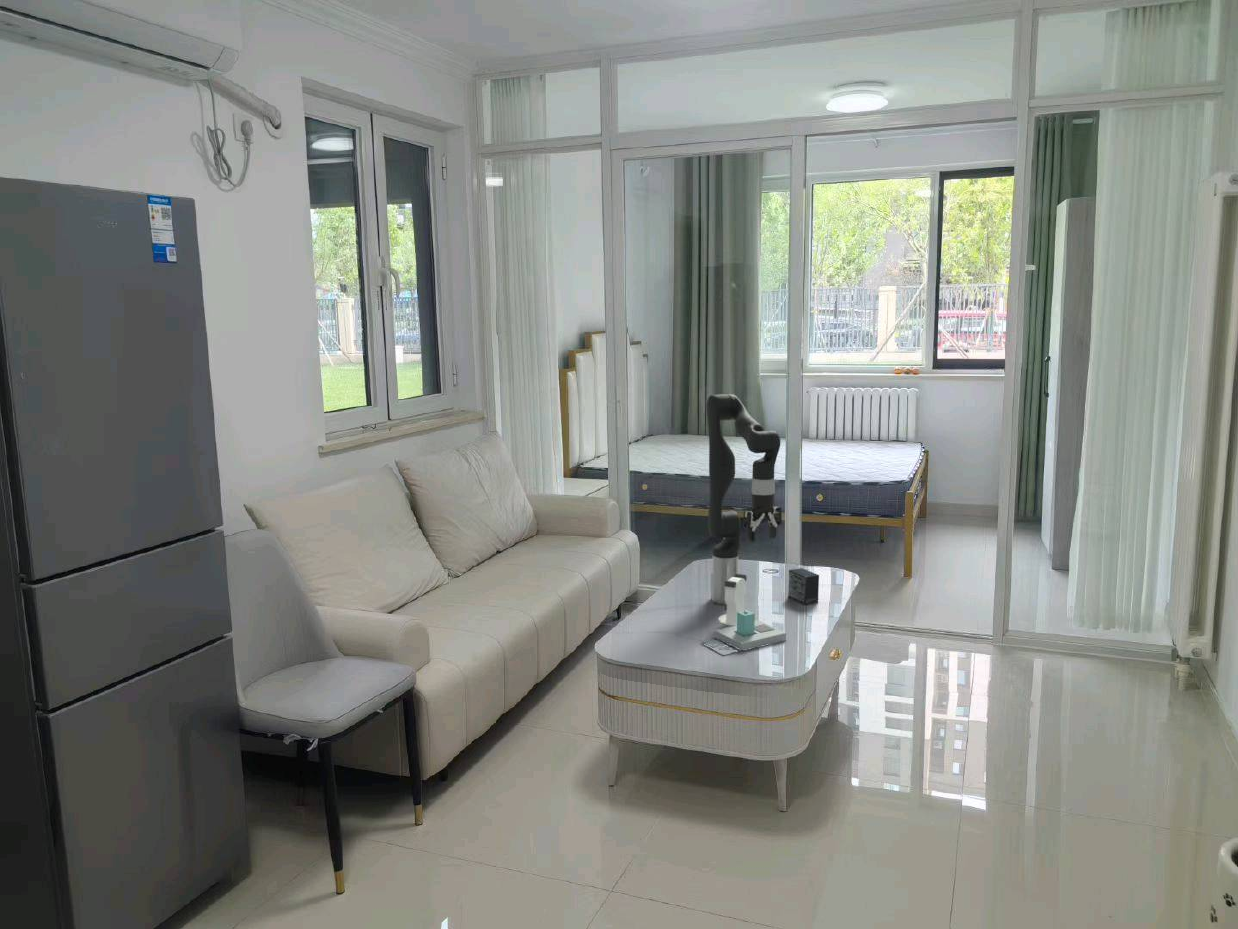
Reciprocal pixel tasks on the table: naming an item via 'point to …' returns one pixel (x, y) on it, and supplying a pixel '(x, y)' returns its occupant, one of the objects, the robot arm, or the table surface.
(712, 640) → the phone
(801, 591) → the small box
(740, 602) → the white curved stand
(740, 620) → the teal knobbed block
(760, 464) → the robot arm
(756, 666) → the table surface
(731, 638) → the plate
